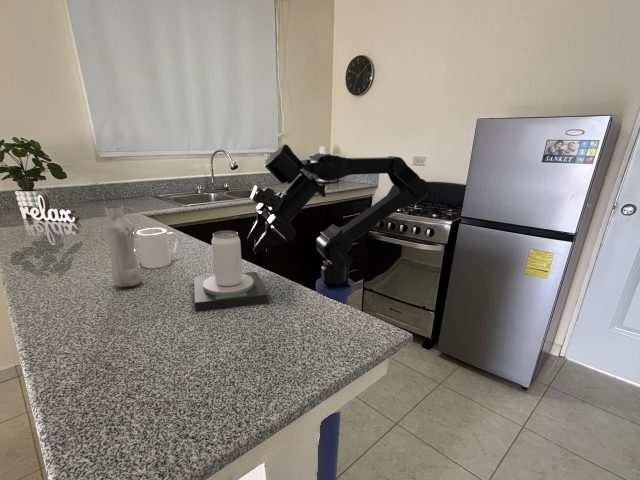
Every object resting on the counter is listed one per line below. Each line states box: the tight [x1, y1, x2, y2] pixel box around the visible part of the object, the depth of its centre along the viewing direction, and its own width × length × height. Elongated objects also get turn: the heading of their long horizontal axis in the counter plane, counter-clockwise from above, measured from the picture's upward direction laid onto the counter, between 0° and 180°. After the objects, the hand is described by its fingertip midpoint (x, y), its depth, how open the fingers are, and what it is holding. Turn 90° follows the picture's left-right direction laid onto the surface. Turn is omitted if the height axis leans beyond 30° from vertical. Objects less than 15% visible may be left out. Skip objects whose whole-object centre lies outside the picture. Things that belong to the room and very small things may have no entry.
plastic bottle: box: [102, 205, 143, 288], centre depth 85 cm, size 6×7×20 cm
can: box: [211, 230, 243, 287], centre depth 82 cm, size 6×6×12 cm
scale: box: [193, 271, 268, 313], centre depth 85 cm, size 16×15×3 cm
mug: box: [135, 227, 182, 269], centre depth 103 cm, size 12×9×10 cm
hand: (251, 246), depth 83 cm, fingers open, 9 cm apart
